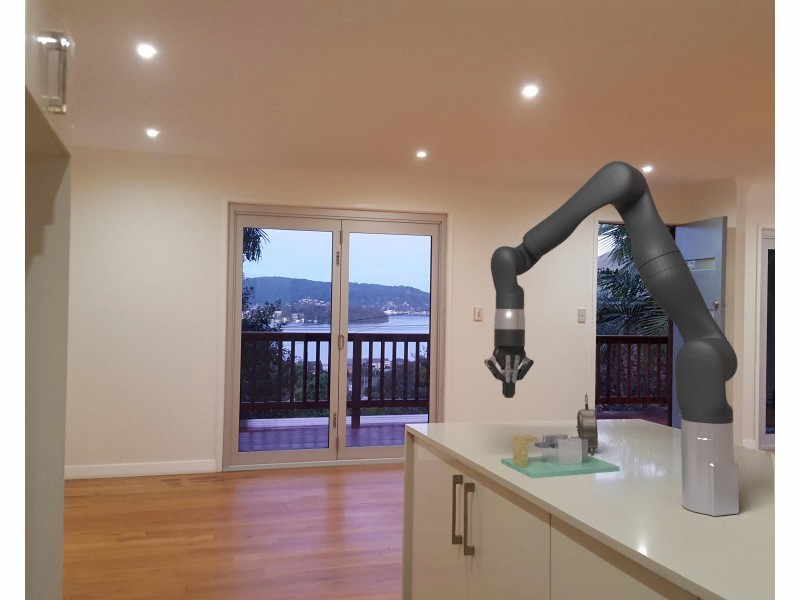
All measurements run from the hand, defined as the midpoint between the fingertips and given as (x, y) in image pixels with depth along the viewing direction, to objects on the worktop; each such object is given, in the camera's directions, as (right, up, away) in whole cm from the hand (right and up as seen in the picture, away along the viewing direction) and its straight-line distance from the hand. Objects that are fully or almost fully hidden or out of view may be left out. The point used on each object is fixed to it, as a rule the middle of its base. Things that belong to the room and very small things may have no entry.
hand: (508, 397), depth 153 cm
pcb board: (+13, -18, +3) cm, 22 cm away
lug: (+4, -17, 0) cm, 17 cm away
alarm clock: (+25, -19, +20) cm, 37 cm away
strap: (+13, -13, +3) cm, 19 cm away
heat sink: (+15, -17, +3) cm, 23 cm away
